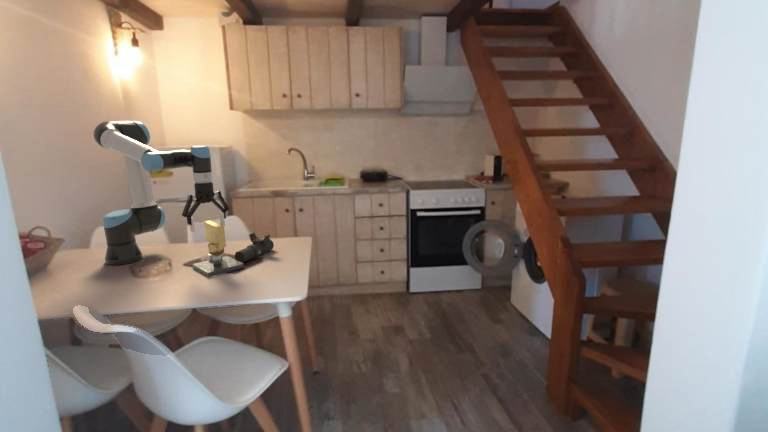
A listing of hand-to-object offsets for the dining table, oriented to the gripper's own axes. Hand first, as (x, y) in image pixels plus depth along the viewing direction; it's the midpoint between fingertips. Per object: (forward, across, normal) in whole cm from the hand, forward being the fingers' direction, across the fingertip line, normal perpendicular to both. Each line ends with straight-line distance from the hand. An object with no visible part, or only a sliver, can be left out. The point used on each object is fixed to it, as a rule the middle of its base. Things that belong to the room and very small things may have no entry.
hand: (208, 228), depth 186 cm
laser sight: (+17, +20, -3) cm, 27 cm away
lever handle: (+10, 0, -6) cm, 12 cm away
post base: (+17, 0, -7) cm, 18 cm away
